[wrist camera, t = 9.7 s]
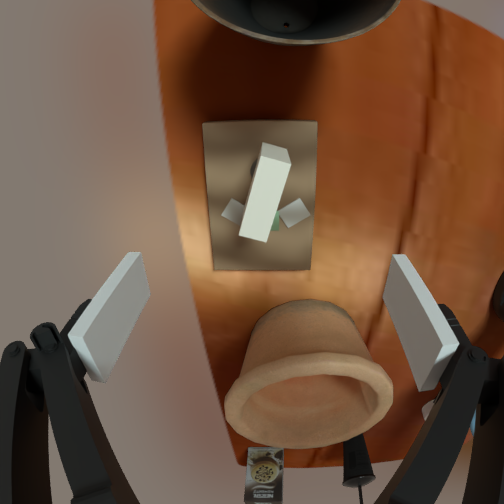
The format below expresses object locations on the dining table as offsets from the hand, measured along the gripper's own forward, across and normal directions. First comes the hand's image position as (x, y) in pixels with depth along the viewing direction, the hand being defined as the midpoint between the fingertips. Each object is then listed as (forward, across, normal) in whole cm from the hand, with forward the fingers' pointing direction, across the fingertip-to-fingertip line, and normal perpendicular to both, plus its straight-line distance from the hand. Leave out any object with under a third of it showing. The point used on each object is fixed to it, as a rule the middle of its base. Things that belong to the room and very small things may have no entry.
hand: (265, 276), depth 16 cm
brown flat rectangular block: (+22, -1, -3) cm, 22 cm away
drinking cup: (+23, +21, -62) cm, 69 cm away
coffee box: (+23, 0, -70) cm, 74 cm away
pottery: (+22, +5, -26) cm, 35 cm away
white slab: (+19, -1, -1) cm, 19 cm away
